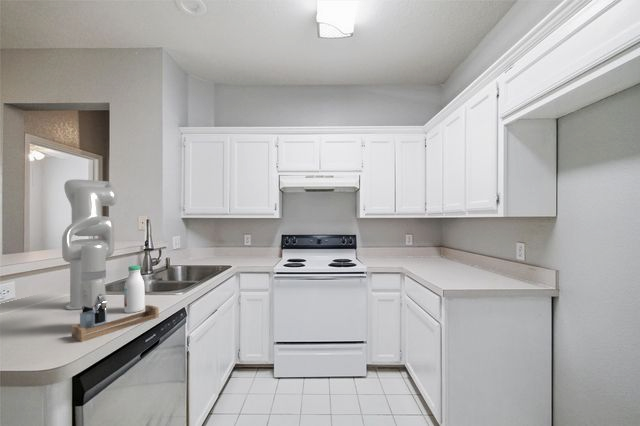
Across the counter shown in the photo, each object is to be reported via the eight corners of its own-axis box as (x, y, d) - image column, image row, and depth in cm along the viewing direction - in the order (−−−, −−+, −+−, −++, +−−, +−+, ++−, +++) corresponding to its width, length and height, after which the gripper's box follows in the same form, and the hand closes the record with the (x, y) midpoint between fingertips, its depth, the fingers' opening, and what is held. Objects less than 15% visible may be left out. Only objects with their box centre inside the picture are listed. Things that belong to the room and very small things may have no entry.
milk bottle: (148, 307, 131) (148, 264, 131) (138, 313, 124) (138, 267, 124) (131, 307, 131) (131, 264, 131) (120, 313, 123) (120, 267, 123)
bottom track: (71, 337, 100) (71, 325, 100) (148, 314, 123) (148, 304, 123) (81, 341, 96) (81, 330, 96) (158, 317, 119) (158, 307, 119)
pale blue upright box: (80, 329, 107) (80, 313, 107) (101, 323, 113) (101, 308, 113) (84, 331, 105) (84, 315, 105) (106, 325, 111) (106, 309, 111)
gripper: (71, 275, 110) (71, 320, 109) (92, 279, 101) (92, 327, 101) (94, 272, 116) (94, 314, 116) (116, 275, 108) (116, 321, 107)
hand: (93, 320), depth 108 cm, fingers open, 9 cm apart
